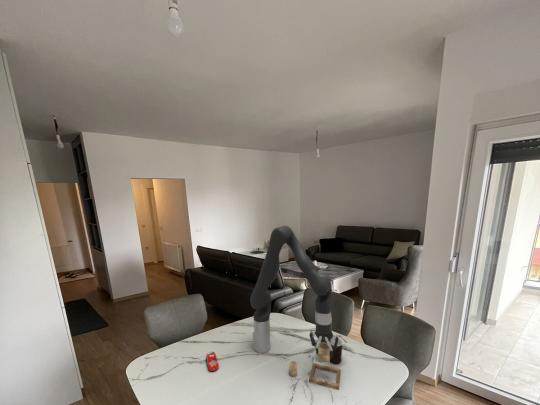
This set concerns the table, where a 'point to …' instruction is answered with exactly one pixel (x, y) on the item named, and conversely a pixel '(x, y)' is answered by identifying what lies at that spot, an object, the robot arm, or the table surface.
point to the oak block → (323, 352)
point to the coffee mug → (336, 352)
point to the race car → (212, 361)
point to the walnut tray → (323, 382)
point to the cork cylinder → (292, 369)
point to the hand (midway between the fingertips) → (324, 355)
